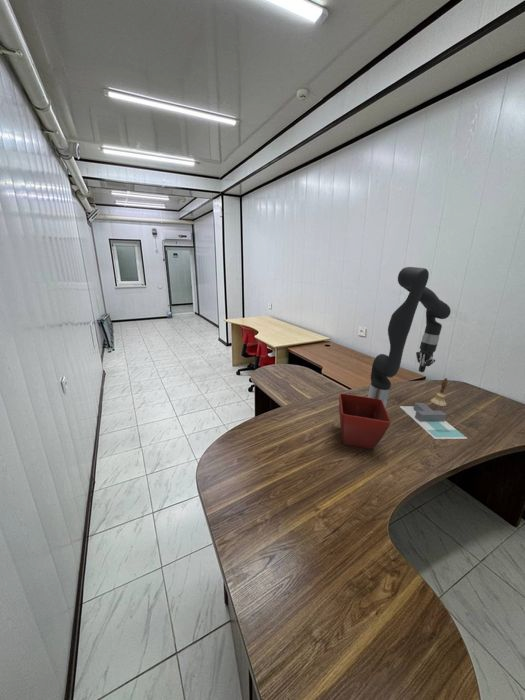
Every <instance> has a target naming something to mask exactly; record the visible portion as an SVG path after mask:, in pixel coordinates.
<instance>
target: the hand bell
mask: <svg viewBox="0 0 525 700" xmlns="http://www.w3.org/2000/svg"><path fill="white" fill-rule="evenodd" d="M447 386H448V378H446V377H444V379H443V380H442V381H441V389H440V391H439V392H437V393H436V394H435V396H434V397H433V398H431V399H430V402H431V403H433V404H435V405H438V406H441V407H442V406H443V407H444V406H445V407H446V406H447V402H446V400H445V399H446V395H445V394H444V392H445V390H446V387H447Z"/></svg>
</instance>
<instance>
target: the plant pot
mask: <svg viewBox="0 0 525 700" xmlns="http://www.w3.org/2000/svg"><path fill="white" fill-rule="evenodd" d="M338 397H339V399H338V404H339V405H338V408H339V412H338V413H339V424H340V431H341V432H340V433H341V442H342V444H343V445H346V446H351V447H356V448H362V449H368V450H373V449H374V448H375V447H376V446H377V445H378V443H380V441H381V440H382V439H383V437H384V435H385V434H386V432H387V431H388V429H389V427H390V424H391V422H392V420H391V418H390V417H389V414H388V411H387V410H386V409H387V408H385V406H384V404H383V401H382V400H380V399H375V398H368V396H361V395H355V394H348V393H342V392H341V393H339V396H338Z"/></svg>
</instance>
